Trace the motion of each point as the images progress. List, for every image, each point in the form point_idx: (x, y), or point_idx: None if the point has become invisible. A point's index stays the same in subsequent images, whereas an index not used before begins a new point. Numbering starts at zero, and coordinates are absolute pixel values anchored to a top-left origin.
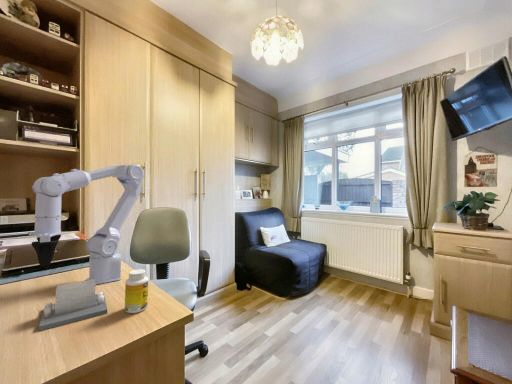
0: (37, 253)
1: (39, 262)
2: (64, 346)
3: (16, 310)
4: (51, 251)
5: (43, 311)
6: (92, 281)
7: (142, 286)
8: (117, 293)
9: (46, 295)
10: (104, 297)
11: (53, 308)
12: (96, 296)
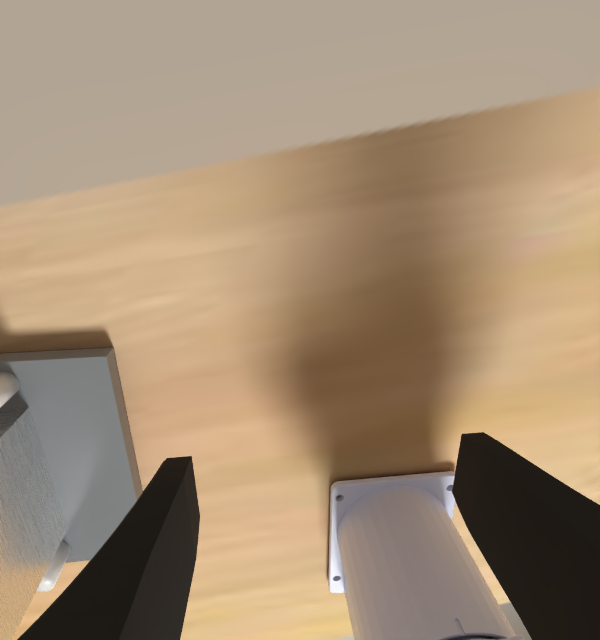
0: (47, 616)
1: (143, 491)
2: None
3: (169, 225)
4: None
5: (19, 361)
6: None
7: None
8: None
9: (322, 325)
10: (80, 560)
11: (39, 396)
12: (111, 534)
